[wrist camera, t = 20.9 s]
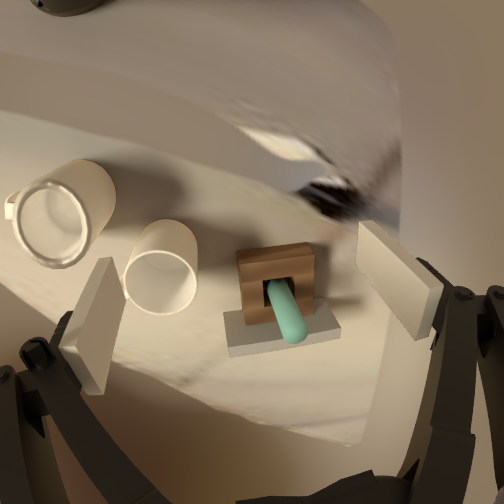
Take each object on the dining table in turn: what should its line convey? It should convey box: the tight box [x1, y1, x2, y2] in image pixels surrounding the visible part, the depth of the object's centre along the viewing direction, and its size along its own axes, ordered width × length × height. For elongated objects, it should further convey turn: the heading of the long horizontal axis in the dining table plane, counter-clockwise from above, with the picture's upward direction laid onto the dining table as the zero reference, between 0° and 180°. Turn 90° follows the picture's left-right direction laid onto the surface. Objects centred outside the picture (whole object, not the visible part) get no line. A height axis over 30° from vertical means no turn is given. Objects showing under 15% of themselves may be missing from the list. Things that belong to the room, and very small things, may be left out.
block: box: [236, 242, 315, 325], centre depth 46 cm, size 10×10×4 cm
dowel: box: [263, 277, 309, 344], centre depth 42 cm, size 3×3×13 cm
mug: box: [5, 160, 116, 269], centre depth 33 cm, size 14×10×11 cm
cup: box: [119, 219, 198, 315], centre depth 39 cm, size 8×12×10 cm
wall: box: [223, 297, 341, 358], centre depth 47 cm, size 2×16×8 cm, turn 94°
